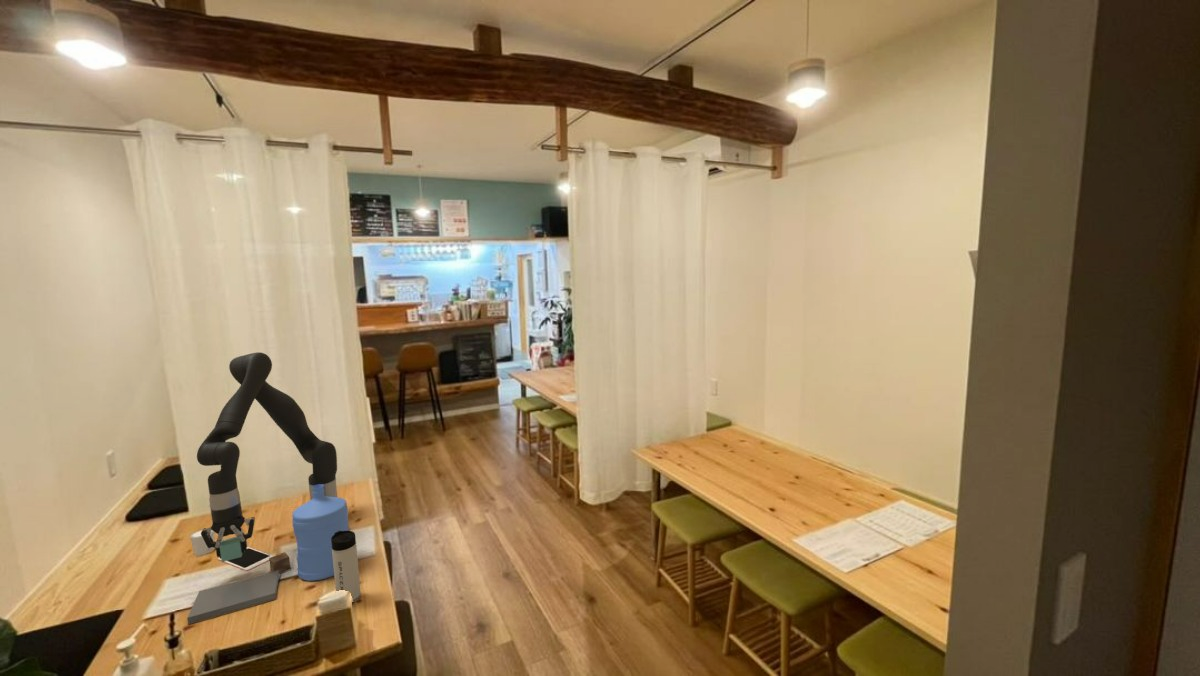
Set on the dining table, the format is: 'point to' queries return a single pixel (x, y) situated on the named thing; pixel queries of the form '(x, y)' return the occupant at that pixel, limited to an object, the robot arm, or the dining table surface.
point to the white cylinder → (201, 543)
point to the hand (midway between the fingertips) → (232, 554)
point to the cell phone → (249, 559)
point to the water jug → (318, 533)
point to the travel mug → (346, 563)
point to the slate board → (234, 596)
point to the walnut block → (280, 563)
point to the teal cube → (230, 549)
